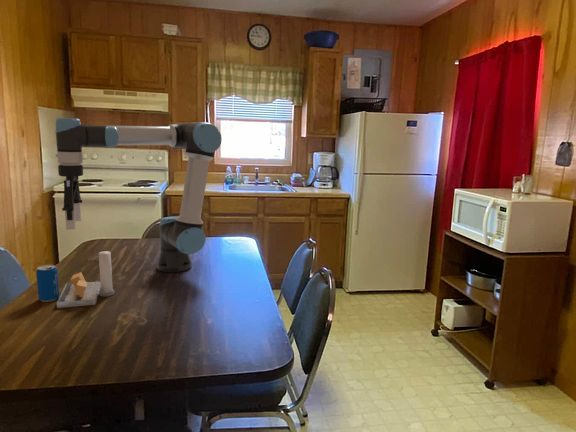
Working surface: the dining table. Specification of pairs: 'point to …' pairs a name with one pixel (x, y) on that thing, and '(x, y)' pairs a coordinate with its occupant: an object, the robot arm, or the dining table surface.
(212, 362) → the dining table surface
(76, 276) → the paddle
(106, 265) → the white rounded smooth part
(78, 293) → the paddle
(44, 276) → the beverage can
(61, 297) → the breaker plate
